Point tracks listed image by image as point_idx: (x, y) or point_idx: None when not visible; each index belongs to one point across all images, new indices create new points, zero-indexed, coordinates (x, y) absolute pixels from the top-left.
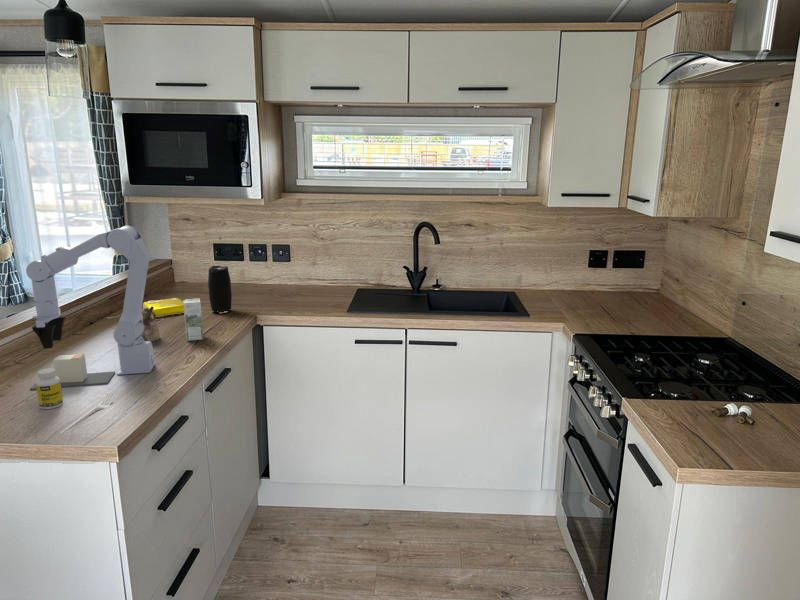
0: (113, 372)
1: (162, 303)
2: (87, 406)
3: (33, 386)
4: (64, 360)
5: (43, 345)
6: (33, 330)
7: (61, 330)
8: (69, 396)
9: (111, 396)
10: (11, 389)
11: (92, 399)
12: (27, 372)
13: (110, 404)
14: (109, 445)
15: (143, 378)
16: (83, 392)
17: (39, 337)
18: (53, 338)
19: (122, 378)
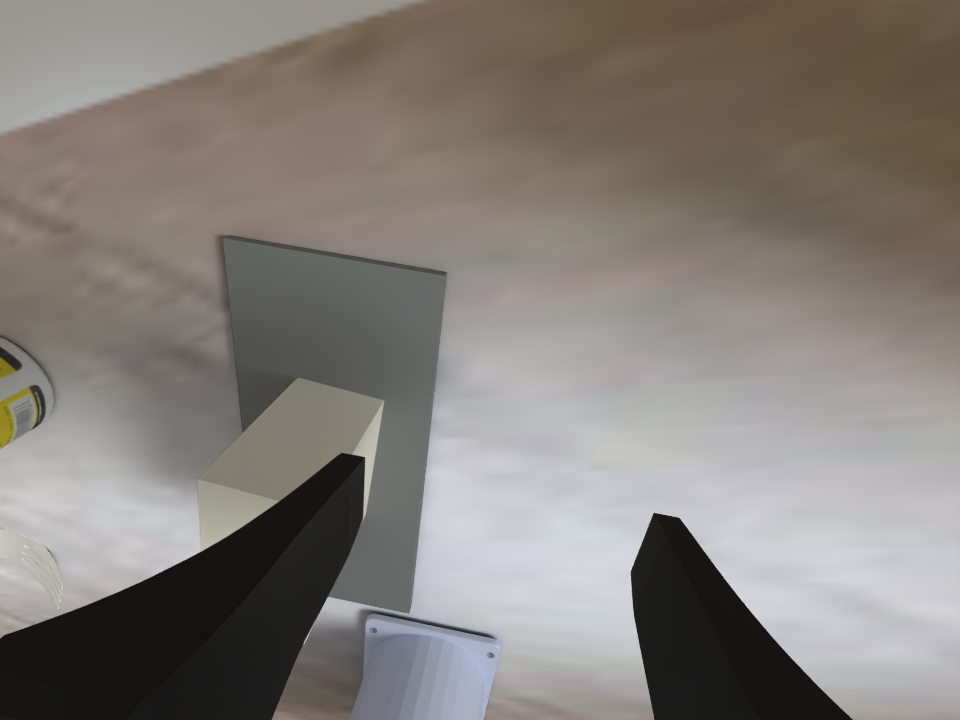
0: (393, 608)
1: None
2: (11, 506)
3: (257, 252)
4: (207, 538)
5: (315, 478)
6: (12, 637)
7: (661, 714)
8: (120, 441)
9: (54, 594)
10: (266, 91)
11: (84, 522)
12: (660, 126)
13: (33, 572)
14: None
15: (304, 675)
16: (167, 492)
17: (217, 548)
18: (658, 541)
19: (324, 621)
